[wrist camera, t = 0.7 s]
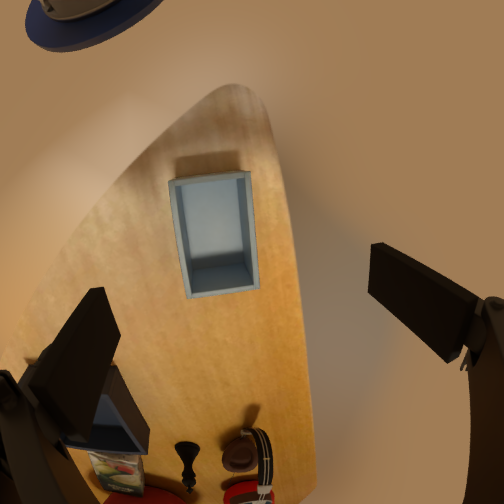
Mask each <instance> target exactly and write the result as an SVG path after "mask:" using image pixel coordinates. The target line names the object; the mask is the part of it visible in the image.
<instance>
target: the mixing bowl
mask: <svg viewBox="0 0 504 504" xmlns="http://www.w3.org/2000/svg"><path fill="white" fill-rule="evenodd" d="M103 504H186V503H185V502H184V501H183V500H182V499H180V498H179V497H177V496H175V495H174V494H173V493H171V492H168V491H166V490H162V489H159V488H155V487H149V486H144V493H143V497H141V498H139V497H135V496H130V495H124V494H119V493H115V492H113V493H112V494H111V495H110V496H109V497H108V498H107V499H106V501H105V502H104V503H103Z"/></svg>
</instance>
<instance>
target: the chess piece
mask: <svg viewBox="0 0 504 504" xmlns="http://www.w3.org/2000/svg"><path fill="white" fill-rule="evenodd" d="M175 450H176V451H177V453H178V455H179V456H180V458H181V460H182V461H183V463H184V471H183V472H182V477H183V479H182V483H183V484H184V485H185V486H186V487H188V489H187V490H186V492H188V493H189V494H191V492H192V491H193V489H191V487H193V486H194V485H195V484H196V480H195V478H194V477H196V475H195V473H194V471H193V469H192V464H193V462H194V460H195V458H196V456H197V455H198V453H199V451H200V448H199V446H198V445H197V444H194V443H191V442H181V443H178V444H176V446H175Z"/></svg>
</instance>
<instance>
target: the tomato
mask: <svg viewBox="0 0 504 504" xmlns="http://www.w3.org/2000/svg"><path fill="white" fill-rule="evenodd" d="M257 484H258V481H256V480H255V481H244V482H241V483H238V484H235V485H233V486H231V487H230V488H228V489H227V490H226V492H225V494H224V498H223V501H224V504H230V501H229V499H230V498H231V497H233V496H236V495H239V494H243V493H247V492H253V491H257ZM269 493H271V497H272V504H274V493H273V491H272V490H270V492H269Z"/></svg>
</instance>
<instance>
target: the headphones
mask: <svg viewBox="0 0 504 504" xmlns="http://www.w3.org/2000/svg"><path fill="white" fill-rule="evenodd" d="M250 434H252V435H253V437H254V439H255V442H256V446H255V445H254V443H253V442H252V441H251V440H250V439H248V438H245V437H244V436H246V435H250ZM241 435H242V437H241V438H238V439H236V440H234V441H233V442H231V443H230V444H229V445H228V446H227V448H226V449H225V451H224V453H223V455H222V463H223V466H224V468H225V469H226V470H228V471H230V472H248V471H251V470H253V469H254V468H255V467H256V466H257V464H258V484H257V491H253V492H247V493H243V494H239V495H236V496H233V497H231V498H230V499H229V501H230V504H272V497H271V493H269V492H270V490H271V488H272V486H273V485H272V484H271V482H272V477H273V454H272V448H271V443H270V440H269V438H268V436H267V434H266V433H265V431H263V430H262V429H260V428H255V427H250V428H247V429H244V430H241ZM243 435H244V436H243ZM256 447H257V448H256ZM233 475H234V474H233ZM232 477H233V476H232ZM231 479H232V478H231ZM230 481H231V480H230ZM229 484H230V483H229Z"/></svg>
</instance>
